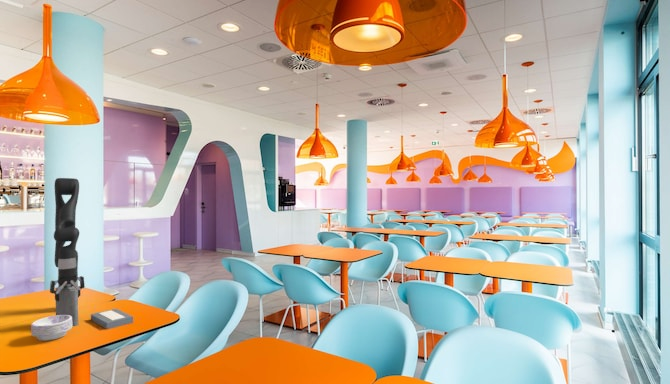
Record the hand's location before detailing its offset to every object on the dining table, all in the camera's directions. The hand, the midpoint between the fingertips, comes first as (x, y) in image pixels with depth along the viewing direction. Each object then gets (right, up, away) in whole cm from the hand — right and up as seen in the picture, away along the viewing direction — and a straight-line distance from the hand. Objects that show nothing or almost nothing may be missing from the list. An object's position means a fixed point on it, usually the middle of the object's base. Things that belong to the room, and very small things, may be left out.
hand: (67, 299), depth 195 cm
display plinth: (+21, -12, +2) cm, 24 cm away
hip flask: (0, -12, 0) cm, 12 cm away
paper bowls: (+6, -12, -19) cm, 23 cm away
